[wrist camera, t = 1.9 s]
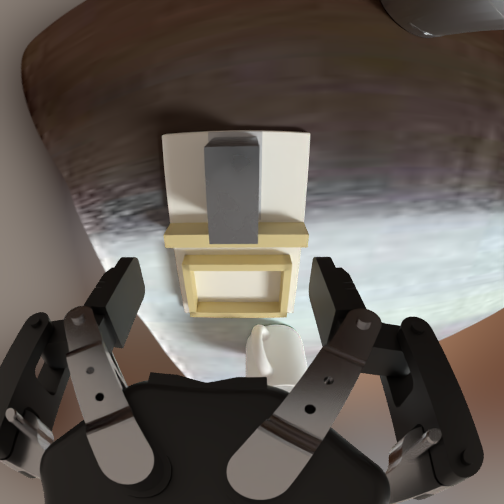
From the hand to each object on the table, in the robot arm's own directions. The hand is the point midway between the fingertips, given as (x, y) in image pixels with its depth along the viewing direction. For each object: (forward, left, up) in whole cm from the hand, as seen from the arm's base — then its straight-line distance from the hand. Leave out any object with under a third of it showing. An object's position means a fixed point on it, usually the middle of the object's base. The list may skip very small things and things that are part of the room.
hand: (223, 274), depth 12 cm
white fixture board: (+6, 0, -17) cm, 18 cm away
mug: (+22, +4, -17) cm, 29 cm away
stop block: (0, 0, -16) cm, 16 cm away
